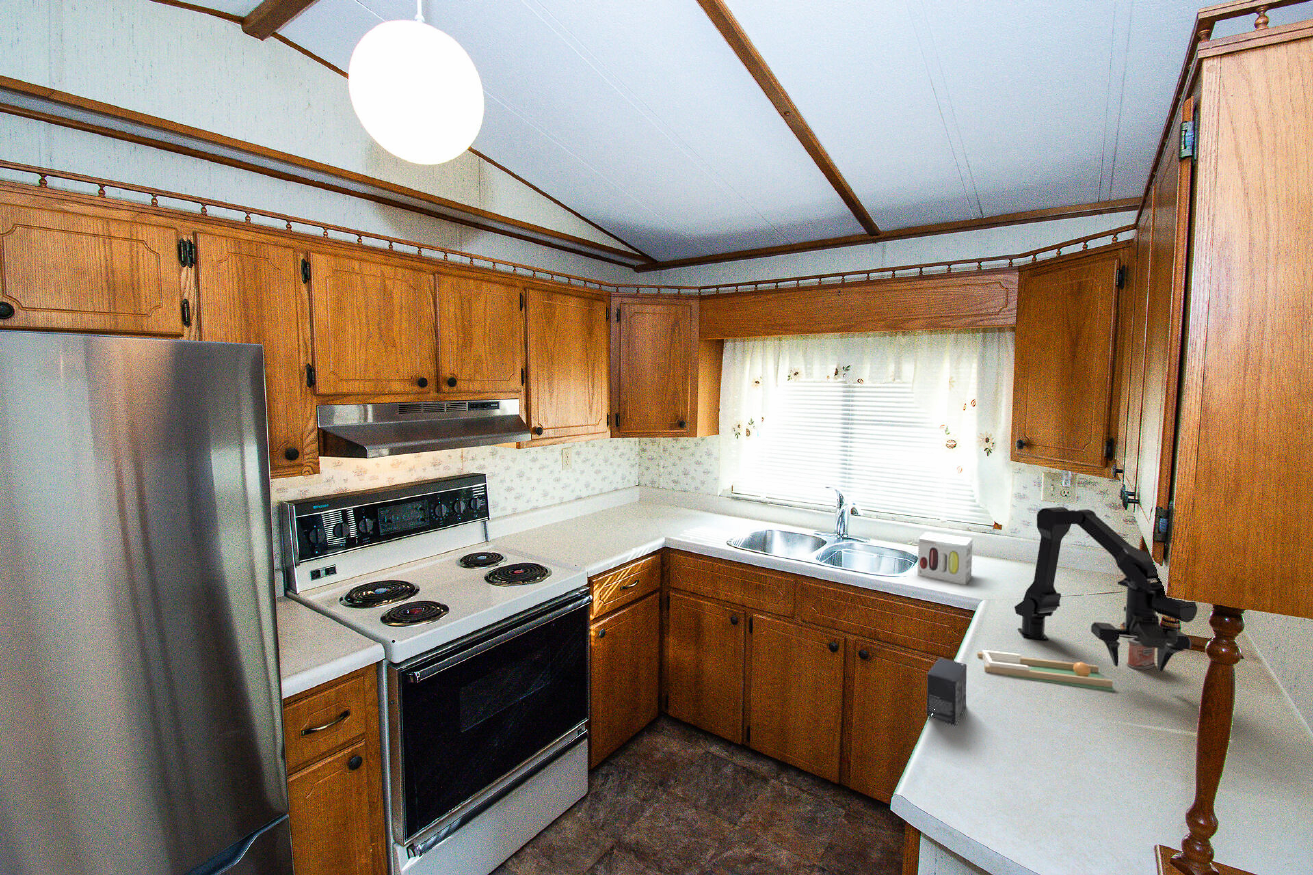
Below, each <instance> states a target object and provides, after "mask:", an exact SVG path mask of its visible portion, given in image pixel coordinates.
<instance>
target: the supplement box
mask: <svg viewBox="0 0 1313 875" xmlns="http://www.w3.org/2000/svg"><path fill="white" fill-rule="evenodd" d="M973 540H974V539H973V537H968V536H958V535H953V534H952V535H951V534H943V533H935V532H928V531H925V533H923V534H921V536H920V537H919V538H918V549H917V550H918V554H917V576H919V577H925V578H929V579H934V580H938V581H943V582H944V581H945V582H949V583H953V584H954V583H955V584H959V585H964V586H965V585H967V583H968V582H969V581H970V580H971V578H972V567H973V565H972V564H973V543H974V542H973Z"/></svg>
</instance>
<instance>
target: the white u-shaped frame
mask: <svg viewBox="0 0 1313 875" xmlns="http://www.w3.org/2000/svg"><path fill="white" fill-rule="evenodd" d="M981 653H982V658H981V659H982V660H983V663H984V665H989V666H992V667H1000V668H1009V669H1017V670H1026V671H1029V668H1030V666H1028V664H1021V663H1020V657H1021V654H1020V653H1014V652H1013V653H1012V652H1006V651H1004V652H1003V651H997V650H996V651H995V650H988V649H982V650H981Z"/></svg>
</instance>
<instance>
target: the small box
mask: <svg viewBox="0 0 1313 875" xmlns="http://www.w3.org/2000/svg"><path fill="white" fill-rule="evenodd" d="M967 667H968V664H967V663H963V662H958V661H953V660H950V659H945V658H942V657H938V659H937V660H935V663H934V664H933V665H932V667H931V668H930V669H929V671H928V672H927V676H926V682H927V684H926V686H927V687H926V716H928V717H930V718H932V719H936V720H938V721H941V722H944V723H947V724H949V723H951V724H950V725H952V724H954V725H953V726H955V725H956V726H957V724H958V723H959V721H960V719H961V717H962V715H963V714H962V712H963V710H964V709H966V708H967V674H968V673H967V671H968V670H967ZM965 707H966V708H965ZM934 709H935V710H934ZM964 711H965V710H964ZM932 713H933V715H932V717H931V714H932ZM963 713H964V712H963ZM961 714H962V715H961ZM960 716H961V717H960ZM959 718H960V719H959ZM958 720H959V721H958ZM957 722H958V723H957ZM956 723H957V724H956Z"/></svg>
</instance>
